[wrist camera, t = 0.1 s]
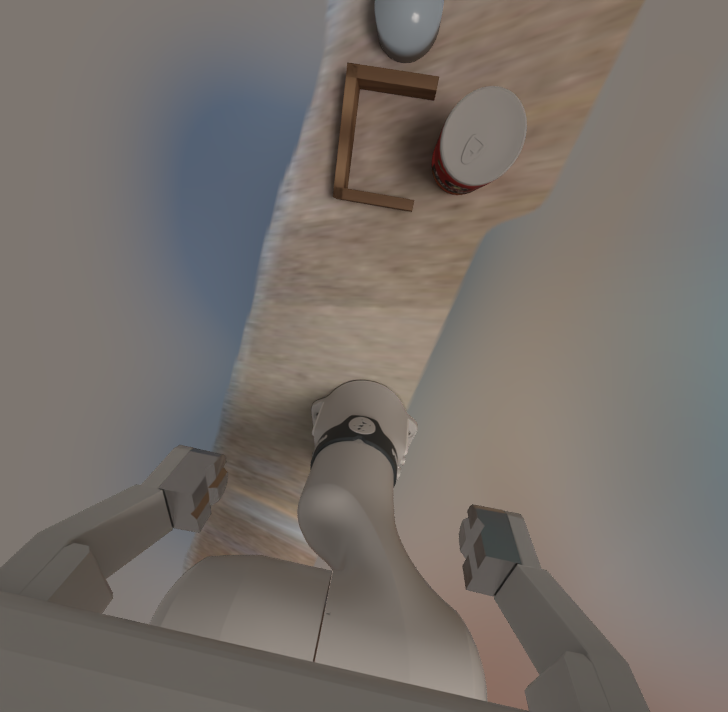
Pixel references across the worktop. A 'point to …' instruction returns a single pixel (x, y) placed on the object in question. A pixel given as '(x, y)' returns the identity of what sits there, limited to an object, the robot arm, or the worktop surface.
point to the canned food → (479, 140)
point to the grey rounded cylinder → (407, 27)
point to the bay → (354, 82)
